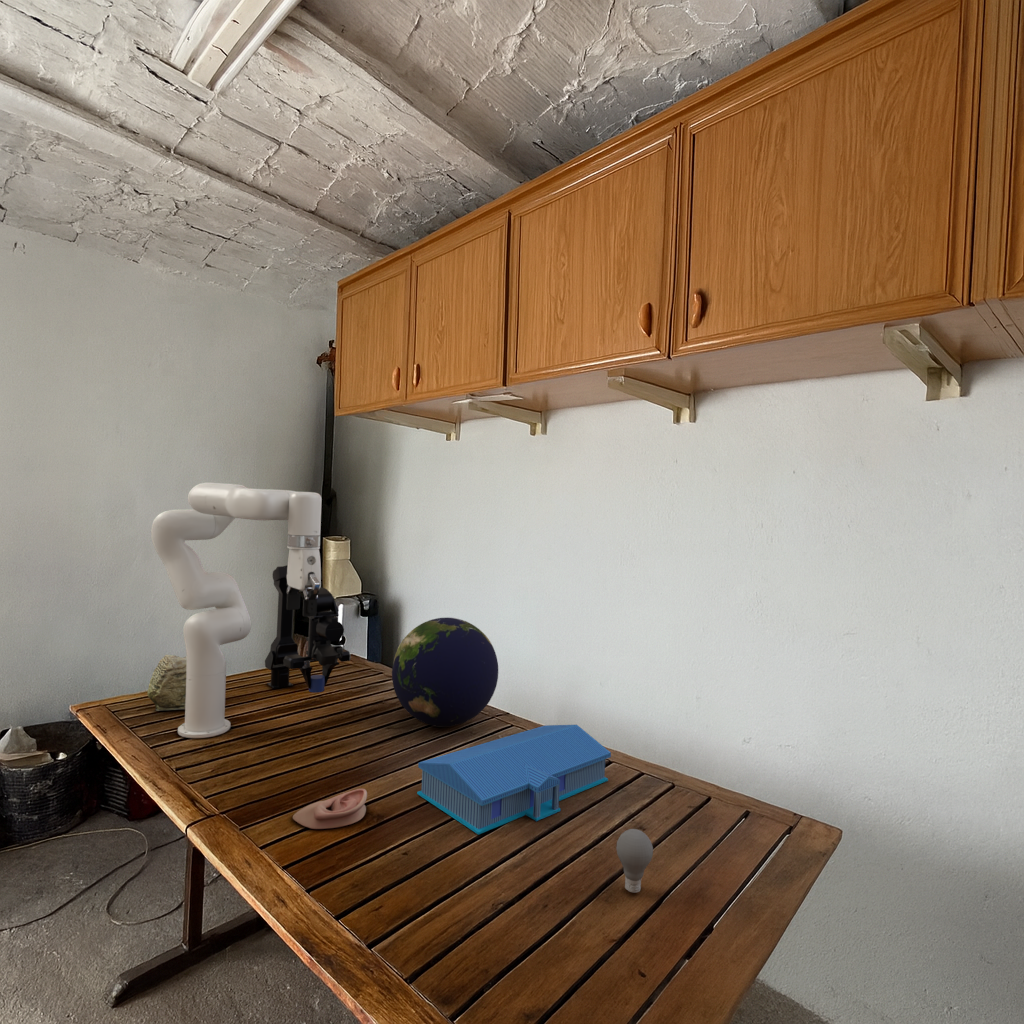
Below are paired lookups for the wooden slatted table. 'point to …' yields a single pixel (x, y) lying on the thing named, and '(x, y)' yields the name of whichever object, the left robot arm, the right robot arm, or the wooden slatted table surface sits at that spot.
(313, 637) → the right robot arm
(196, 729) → the left robot arm
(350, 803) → the anatomical model
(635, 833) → the light bulb
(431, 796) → the model building
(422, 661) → the globe
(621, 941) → the wooden slatted table surface
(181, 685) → the fossil
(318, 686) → the canister
